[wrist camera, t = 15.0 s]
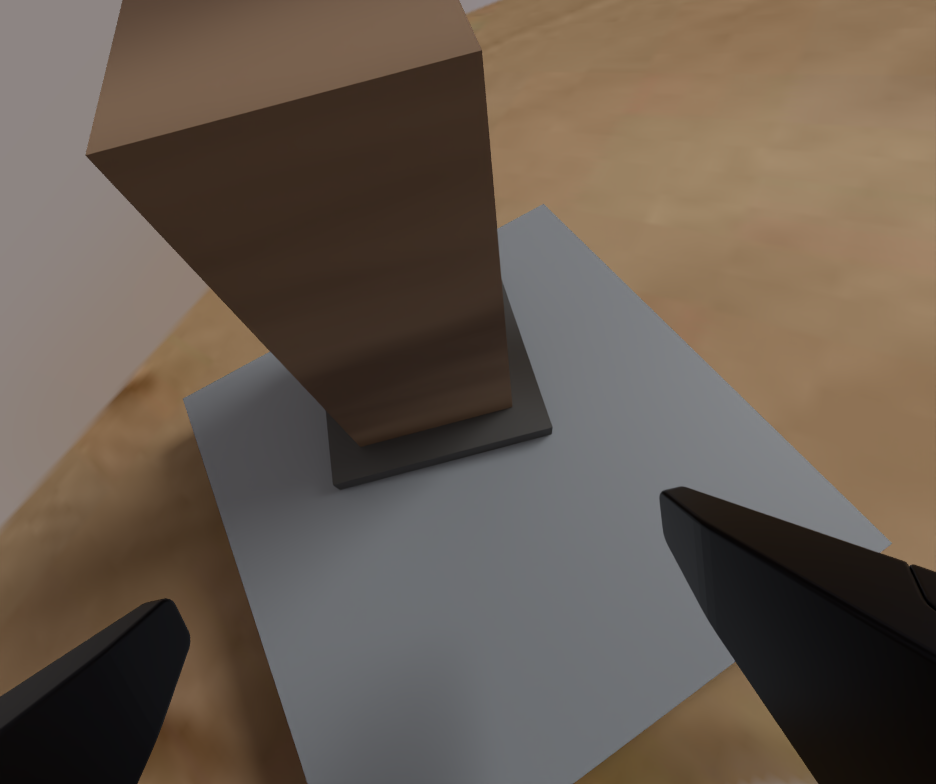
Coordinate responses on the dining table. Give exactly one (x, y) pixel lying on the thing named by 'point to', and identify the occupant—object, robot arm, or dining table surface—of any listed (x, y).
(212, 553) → the dining table surface
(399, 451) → the walnut peg
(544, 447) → the slate board
